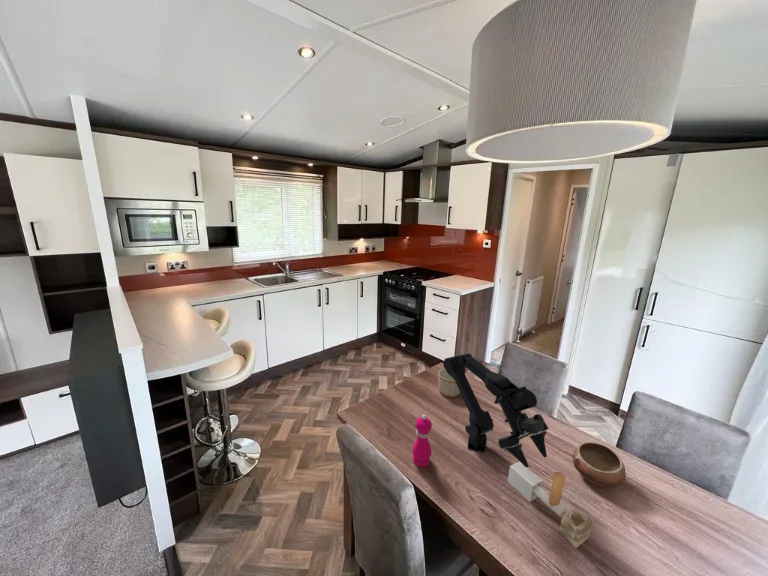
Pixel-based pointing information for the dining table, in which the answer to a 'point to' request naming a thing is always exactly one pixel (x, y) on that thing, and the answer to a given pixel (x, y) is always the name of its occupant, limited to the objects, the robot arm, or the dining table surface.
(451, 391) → the planter
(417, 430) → the pepper mill
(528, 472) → the outer sleeve
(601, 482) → the bowl
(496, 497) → the dining table surface
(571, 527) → the end socket
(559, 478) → the multicoloured piece
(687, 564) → the dining table surface
